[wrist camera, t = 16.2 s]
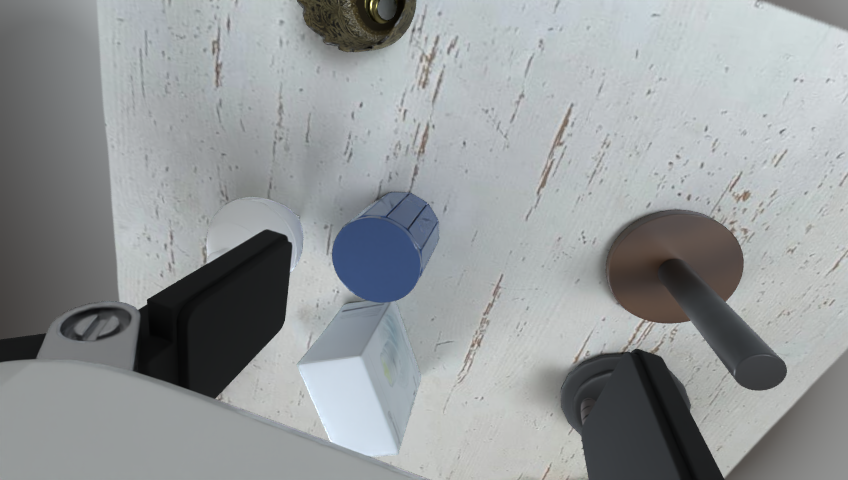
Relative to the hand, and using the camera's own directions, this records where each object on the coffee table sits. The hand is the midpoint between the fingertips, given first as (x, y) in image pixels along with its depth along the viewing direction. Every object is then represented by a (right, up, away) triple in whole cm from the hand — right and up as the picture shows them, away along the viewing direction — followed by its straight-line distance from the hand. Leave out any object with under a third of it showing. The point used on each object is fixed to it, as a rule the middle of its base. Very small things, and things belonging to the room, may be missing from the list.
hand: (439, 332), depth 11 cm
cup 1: (-3, +21, +21) cm, 30 cm away
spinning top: (-13, +5, +29) cm, 32 cm away
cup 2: (-3, +4, +27) cm, 28 cm away
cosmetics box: (-5, -8, +33) cm, 34 cm away
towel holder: (+21, 0, +23) cm, 31 cm away
